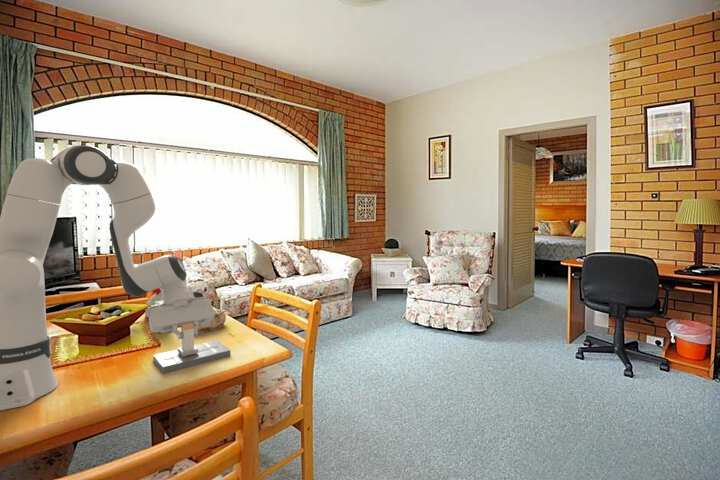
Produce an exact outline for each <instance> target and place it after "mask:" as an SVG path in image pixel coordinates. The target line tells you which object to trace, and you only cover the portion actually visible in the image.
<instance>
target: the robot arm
mask: <svg viewBox="0 0 720 480" xmlns="http://www.w3.org/2000/svg"><path fill="white" fill-rule="evenodd" d="M71 185H79V186H90V185H92V186H94V185H95V186H96V185H98V186H100V187H101V188H102V189H104V191H105V192H106V194H107V195H108V197H109V199H110V201H111V202H110V203H111V204H112V207H113V210H114V211H113V212H114V215H113V219H112V220H111V221H110V222H109V234H110V238H111V243H112V246H113V250H114V255H115V259H116V262H117V267H118V270H119V274H120V282H121V283H120V284H121V286H122V290H123V291H124V292H125V293H126V294H128V295H130V296H133V297H138V298H139V297H141V296H144V295H145V294H147V293H150V292H152V291H154V290H155V289H158V288H160V289H161V291H162V298H163V302H164V304H159V305H152V306H150V307H148V308H147V309H146V308H145V311H146V315H147V317H148V318H149V320H148V326H149V330H150V332H152V333H160V332H159V331H164V330H169V329H172V331H171V332H172V333H173V334H174V335H175V336H177V340H182V339H183V337H184V335H183V332H181V330H178V328H181V324H185V323H192V324H194V327H195V329H194V337H195V336H198V335H199V333H198V331H197V327H198V324H199V323H204V322H210V321H212V320H213V318H214V316H215V312H214V309H215V308H214V306H213V305H212V303H211V302H210V300H208V299H207V295H206V292H204V291H203V292H202V291H194V290H191V289H190V288H189V287H188V285H187V282H188V281H187V272H186V268H185V265H184V263H183V261H182V260H181V258H179V257H178V256H176V255H173V254H165V255H162V256H159V257H156V258H153V259H151V260H148V261H145V262H142V263H139V264H135V263H134V260H133V259H134V258H133V256H132V252H131V247H130V244H129V243H130V242H129V239H130V237H131V236H132V235H133V234H134V233H135V232H136V231H138V230H139V229H141V228H142V227H143V226H144V225H146V224H147V223H148V222H149V221H150V220H151V219H152V217H153V216H154V214H155V211H156V205H155V201H154V198H153V195H152V193H151V191H150V188H149V185H148V184H147V183H146V181H145V178H144V177H143V176H142V174H141V172H140V171H139V170H138V168H137V167H136V166H135V165H134V164H133V163H130V162H127V161H115V159H113V158H112V157H110V156H109V155H108V154H106V152H104V151H103V150H101V149H100V148H98V147H96V146H92V145H89V144H88V145H87V144H80V145H72V146H69V147H66V148H65V149H62V151H60V152H59V153H57V154H56V155H55V156H54V157H52V158H51V159H50V160H47V159H43V158H37V157H34V158H33V157H32V158H27V159H26V158H25V159H24V160H22V161H21V162H19V164H18V166H17V168H16V170H15V172H14V174H13V176H12V178H11V180H10V183H9V185H8V187H7V188H8V189H7V191H6V194H5V199H4V202H3V206H2V209H1V213H0V411H6V410H11V409H15V408H19V407H25V406H27V405H29V404H31V403H33V402H34V401H36V400H37V399H39V398H41V397H42V396H44V395H45V396H46V395H47V394H49V393H51V392H52V391H54V390H55V389H56V388H57V387H58V385H59V381H58V380H57V378H56V375H55V372H54V370H53V366H52V363H51V362H52V361H51V356H52V355H51V354H52V346H51V345H52V344H51V340H50V336H49V335H48V328H47V327H48V326H47V313H46V311H47V310H46V308H47V307H46V285H45V282H46V281H45V270H44V262H45V259H46V255H47V253H48V249H49V246H50V242H51V239H52V237H53V234H54V230H55V227H56V223H57V219H58V215H59V211H60V207H61V204H62V199H63V195H64V193H65V190H66V189H67V188H68V186H71ZM149 308H150V309H149ZM213 308H214V309H213Z"/></svg>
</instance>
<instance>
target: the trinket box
mask: <svg viewBox="0 0 720 480" xmlns="http://www.w3.org/2000/svg"><path fill="white" fill-rule="evenodd" d="M213 309H214V312H215V316H214V318H213V320H212V321H210V322H204V323H199V324H198V327H197V331H198V334H203V333H208V332H212V331H215V330H218V329H220V328H222V327H224V325H225V323H226V321H227V320H226V319H227V315H226V313H225V312H224V311H223V310H222V309H220V308H214V307H213ZM194 329H195V327H194Z"/></svg>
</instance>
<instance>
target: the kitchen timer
mask: <svg viewBox="0 0 720 480" xmlns="http://www.w3.org/2000/svg"><path fill="white" fill-rule="evenodd" d="M153 291H154V294H153V295H151V296H150V298H149V300H147V301H146V303H145V306H146V305H151V306H152V305H154V302H157V301H162V300H163V298H162V291H161V289H160V288H158V289H155V290H153ZM149 309H150V308H149ZM144 319H145V320H147V321H149V318H148V317H147V315H146V312H145V311H144Z"/></svg>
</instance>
